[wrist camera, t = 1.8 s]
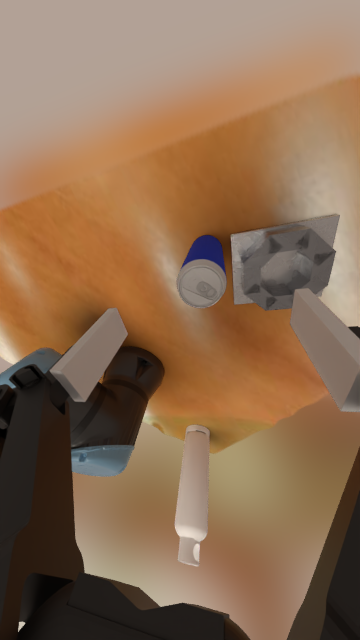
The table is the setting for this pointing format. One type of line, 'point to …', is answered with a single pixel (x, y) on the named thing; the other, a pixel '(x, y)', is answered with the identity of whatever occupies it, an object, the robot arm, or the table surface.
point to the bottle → (193, 495)
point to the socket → (282, 261)
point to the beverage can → (203, 273)
